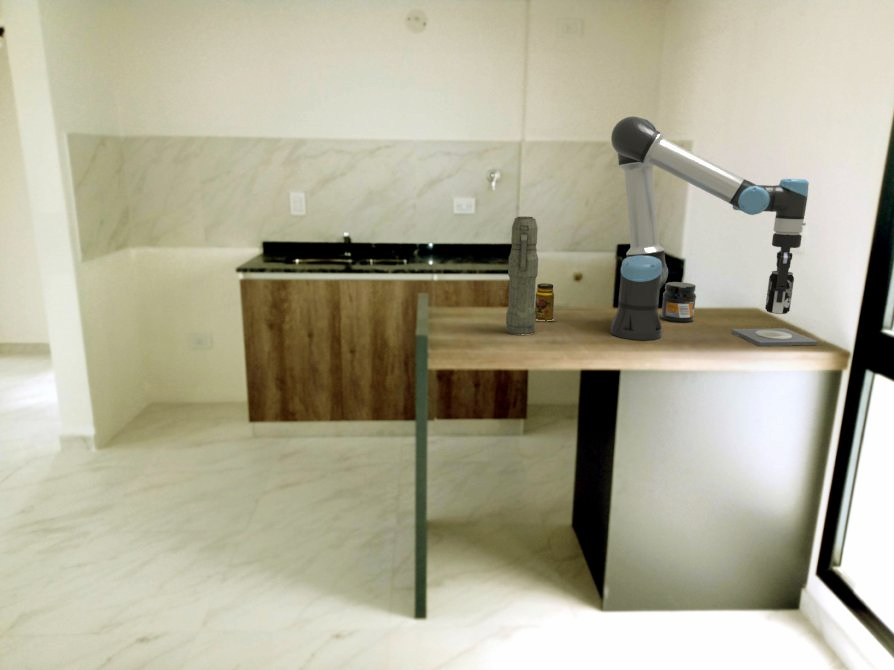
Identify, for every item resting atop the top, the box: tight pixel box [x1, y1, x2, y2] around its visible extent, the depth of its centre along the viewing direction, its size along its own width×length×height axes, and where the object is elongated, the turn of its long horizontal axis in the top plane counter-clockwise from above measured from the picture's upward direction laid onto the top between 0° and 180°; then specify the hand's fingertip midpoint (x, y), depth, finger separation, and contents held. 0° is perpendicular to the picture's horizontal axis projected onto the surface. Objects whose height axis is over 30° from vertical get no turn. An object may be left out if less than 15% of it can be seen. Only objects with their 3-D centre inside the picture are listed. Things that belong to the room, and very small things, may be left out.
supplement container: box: [660, 281, 697, 323], centre depth 227 cm, size 10×10×12 cm
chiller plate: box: [730, 327, 819, 347], centre depth 205 cm, size 18×16×2 cm
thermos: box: [505, 216, 539, 336], centre depth 205 cm, size 9×12×35 cm
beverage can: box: [764, 270, 795, 315], centre depth 201 cm, size 7×7×12 cm
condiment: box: [534, 282, 555, 321], centre depth 225 cm, size 7×8×12 cm
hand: (776, 310), depth 203 cm, fingers closed on beverage can, 7 cm apart
